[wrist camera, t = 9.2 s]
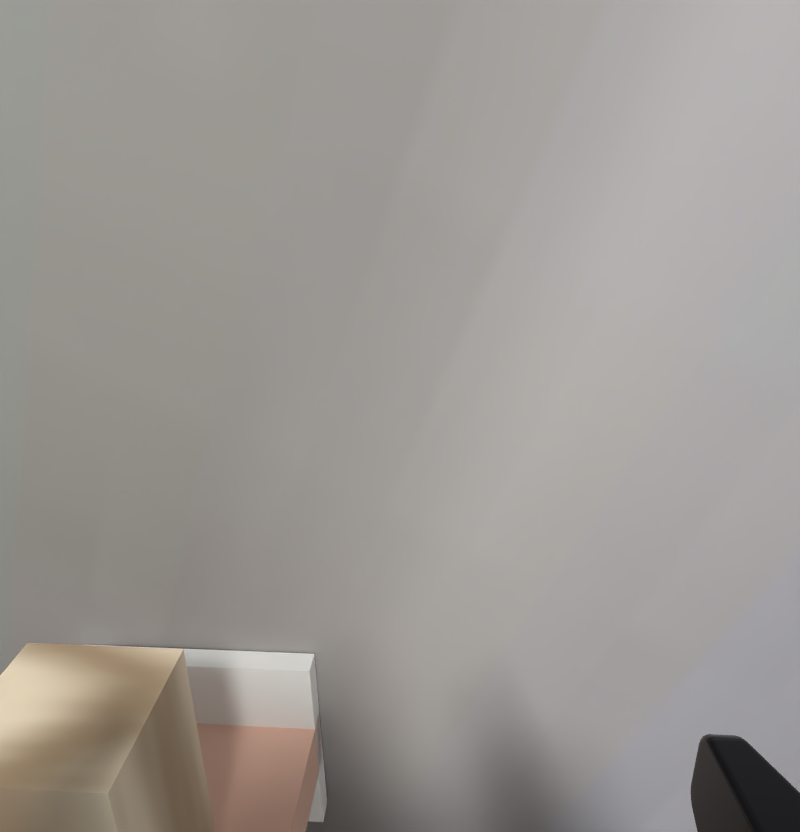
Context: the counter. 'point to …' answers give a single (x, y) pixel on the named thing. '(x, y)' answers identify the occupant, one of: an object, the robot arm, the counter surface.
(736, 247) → the counter surface
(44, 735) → the beam
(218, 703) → the fulcrum
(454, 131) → the counter surface
